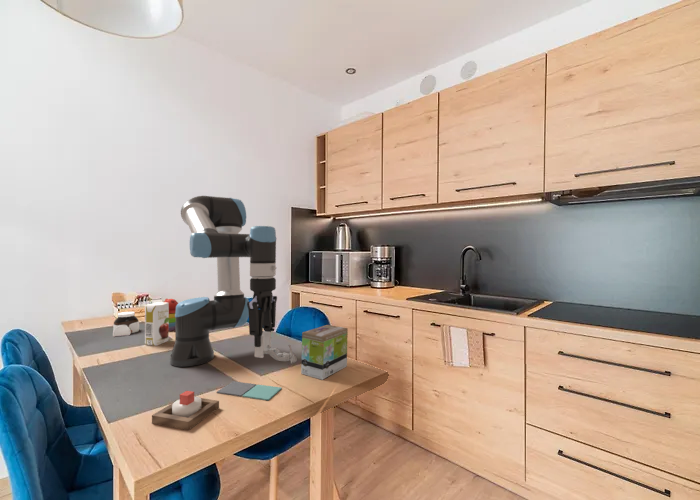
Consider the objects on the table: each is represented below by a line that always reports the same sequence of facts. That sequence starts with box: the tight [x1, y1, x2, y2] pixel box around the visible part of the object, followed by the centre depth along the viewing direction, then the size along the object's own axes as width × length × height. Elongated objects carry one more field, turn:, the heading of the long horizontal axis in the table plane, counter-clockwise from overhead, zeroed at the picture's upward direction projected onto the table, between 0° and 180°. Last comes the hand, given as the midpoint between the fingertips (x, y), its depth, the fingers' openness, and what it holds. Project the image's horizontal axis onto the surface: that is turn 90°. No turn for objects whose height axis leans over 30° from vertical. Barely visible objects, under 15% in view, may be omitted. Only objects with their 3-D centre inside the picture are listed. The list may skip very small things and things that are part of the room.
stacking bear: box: [163, 298, 179, 332], centre depth 163 cm, size 11×10×18 cm
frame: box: [151, 397, 220, 431], centre depth 83 cm, size 11×11×2 cm
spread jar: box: [112, 311, 140, 338], centre depth 155 cm, size 12×11×12 cm
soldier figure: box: [264, 344, 298, 365], centre depth 93 cm, size 8×5×12 cm
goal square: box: [242, 383, 283, 401], centre depth 96 cm, size 8×8×1 cm
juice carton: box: [144, 301, 170, 347], centre depth 142 cm, size 8×9×19 cm
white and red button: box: [171, 390, 202, 418], centre depth 83 cm, size 7×7×6 cm
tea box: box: [300, 324, 349, 381], centre depth 114 cm, size 15×10×15 cm, turn 148°
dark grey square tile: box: [216, 380, 257, 398], centre depth 98 cm, size 8×8×1 cm
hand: (262, 354), depth 96 cm, fingers closed on soldier figure, 3 cm apart
